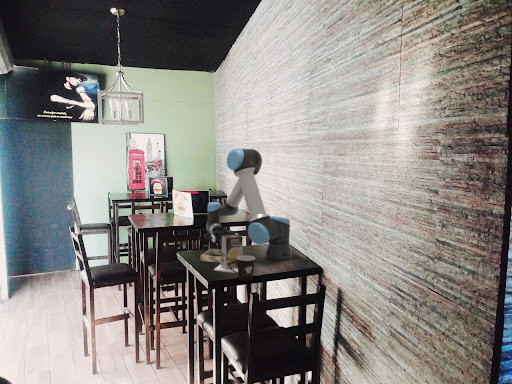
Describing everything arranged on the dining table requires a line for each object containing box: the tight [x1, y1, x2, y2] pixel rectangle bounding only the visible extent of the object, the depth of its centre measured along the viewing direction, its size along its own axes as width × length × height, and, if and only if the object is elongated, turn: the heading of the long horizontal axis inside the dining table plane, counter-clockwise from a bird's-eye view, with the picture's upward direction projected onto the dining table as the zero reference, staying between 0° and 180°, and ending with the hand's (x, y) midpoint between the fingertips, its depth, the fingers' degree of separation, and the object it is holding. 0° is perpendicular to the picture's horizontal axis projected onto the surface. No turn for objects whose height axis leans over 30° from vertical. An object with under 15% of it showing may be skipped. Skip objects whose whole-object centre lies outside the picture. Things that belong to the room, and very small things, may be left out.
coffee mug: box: [230, 255, 256, 282], centre depth 180 cm, size 12×9×10 cm
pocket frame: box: [200, 248, 222, 264], centre depth 213 cm, size 15×15×3 cm
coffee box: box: [220, 235, 244, 269], centre depth 195 cm, size 9×6×16 cm
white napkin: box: [213, 263, 238, 274], centre depth 195 cm, size 14×12×1 cm
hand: (227, 238), depth 204 cm, fingers open, 13 cm apart
